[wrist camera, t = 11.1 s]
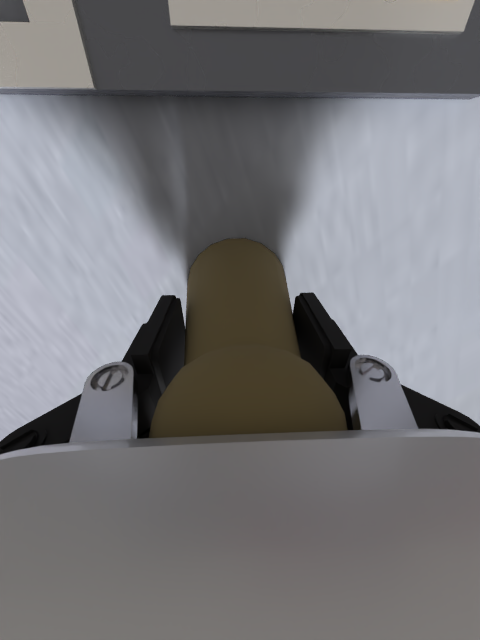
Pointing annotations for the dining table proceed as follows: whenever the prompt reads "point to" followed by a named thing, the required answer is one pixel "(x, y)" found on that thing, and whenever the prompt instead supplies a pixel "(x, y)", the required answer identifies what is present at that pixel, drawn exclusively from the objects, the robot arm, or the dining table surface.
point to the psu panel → (244, 48)
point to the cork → (242, 354)
